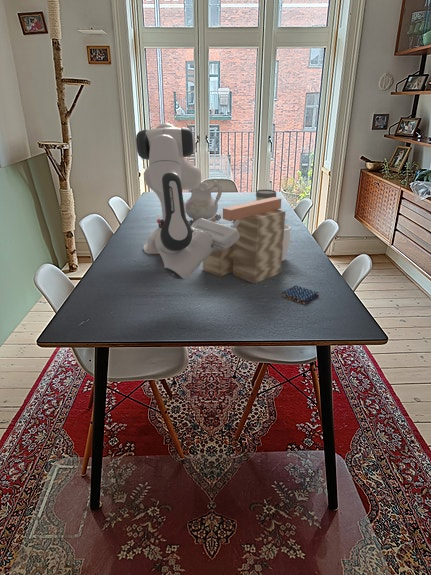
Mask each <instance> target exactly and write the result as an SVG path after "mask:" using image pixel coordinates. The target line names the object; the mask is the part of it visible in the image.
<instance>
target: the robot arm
mask: <svg viewBox="0 0 431 575" xmlns="http://www.w3.org/2000/svg"><path fill="white" fill-rule="evenodd" d="M134 146H135V150H136V153H137V154H138V157H140V158H141V159H143V160H148V166H147V167H146V169H145V170H144V173H143V180H144V184H146V186H147V187H148V188H149V189H150V190H151V191H153V192H154V193H155V195H156V196H157V198H158V199H159V202H160V205H161V206H160V207H161V212H162V218H157V219H156V223H157V224H158V227H157V228H156V229H155V230H153V231H152V232H151V233H150V234H148V238H147V242H146V243H144V245H143V251H144V253H146V254H147V255H160V257H161V259H162V262H163V268H164V270H165V272H166V273H167V275H169V276H170V277H172V278H173V279H176V280H179V281H180V280H185V279H187V278H188V277H190V275H192V274H193V273H194V272H195V271H196V270H197V269H198V268H199V266H200V265H201V263H203V260H205V259H206V258H207V257H208V256H209V255H210V254H211V253H212V252H213V251H214V250H215V249H218V250H224V249H227V248H229V247H230V246H232V245H233V244H234V243H235V242H236V241H237V240H238V239H239V238H240V235H239V232H238V230H237V229H236V228H237V226H238V225H239V220H236V219H234V220H233V221H231V222H232V225H230V226H228V225H224V224H221V223H218V222H219V221H220V220H222V215H221V214H219V213H216V214H215V216H213V217H211V218H209V219H208V220H206V219H203V218H200V219H198V220H196V221H195V222H194V223H193V222H192V224H191V225H190V224H189V222H188V218H187V213H186V204H185V203H186V201H184V197H183V190H184V191H188V190H191V189H194V188H197V187H198V186H199V185H200V183H201V182H202V172H201V170H200V168H198V166H196V165H193V164H192V163H190V162H189V161H188V160H187V159H186V158H188V157H190V156H193V154H194V151H195V148H196V137H195V135H194V133H193V131H192V129H191V128H188V127H186V126H185V127H184V126H182V127H176V126H175V125H174V124H171V123H169V122H166V123H165V122H164V123H163V122H162V123H161V124H159V125H157V126H156V128H152V129H142V130H140V131H138V132H137V134H136V135H135V141H134Z"/></svg>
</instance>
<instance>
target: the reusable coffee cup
mask: <svg viewBox="0 0 431 575" xmlns="http://www.w3.org/2000/svg"><path fill="white" fill-rule="evenodd" d="M255 197H256V200H255V201H258V200H262V199H267V198H271V197H276V198H277V191H276V190H273V189H257V190H256V192H255Z"/></svg>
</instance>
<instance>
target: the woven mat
mask: <svg viewBox="0 0 431 575" xmlns="http://www.w3.org/2000/svg"><path fill="white" fill-rule="evenodd" d="M319 293H320V292H318V291H316V290H312V289H309V288H306V287H303V286H299V285H298V284H297V285H296V284H295V285H293V286H291V287H290V288H288V289H287V290H284V291H283V292H281V296H280V297H283V298H285V299H287V300H288V299H289V300H291V301H294V302H297V303H299V304H303V305H305V304H308V303H309V302H310V301H313V299H315V298H316V297H318V296H319Z"/></svg>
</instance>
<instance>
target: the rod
mask: <svg viewBox="0 0 431 575" xmlns="http://www.w3.org/2000/svg"><path fill="white" fill-rule="evenodd" d="M277 209H278V210H281V209H282V198H280V197H277V196H276V197H271V198H267V199H262V200H258V201H256V200H254V201H249V202H245V203H240V204H234V205H231V206H226V207H223V208H222V220H225V221H227V222H232V221H234V219H236V220H237V219H241V218H245V217H249V216H253V215H257V214H261V213H265V212H269V211H273V210H277Z"/></svg>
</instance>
